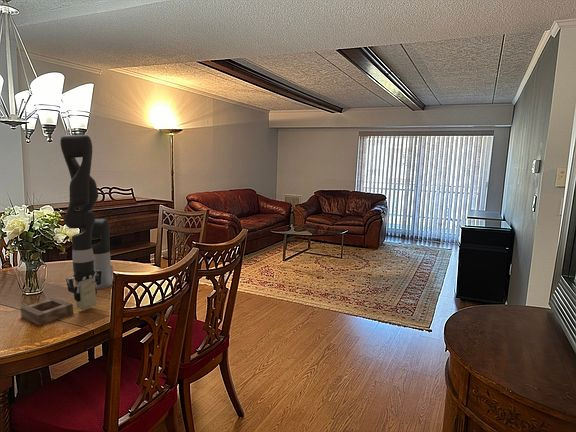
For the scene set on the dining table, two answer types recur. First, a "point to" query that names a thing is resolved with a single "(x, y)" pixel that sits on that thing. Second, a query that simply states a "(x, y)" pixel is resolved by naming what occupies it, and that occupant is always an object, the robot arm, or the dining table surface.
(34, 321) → the grey flat hollow block
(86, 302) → the skincare box
